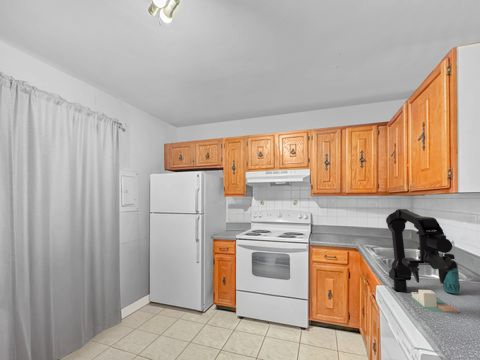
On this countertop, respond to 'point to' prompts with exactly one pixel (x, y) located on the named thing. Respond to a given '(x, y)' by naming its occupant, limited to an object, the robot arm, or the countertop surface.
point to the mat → (433, 309)
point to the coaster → (447, 308)
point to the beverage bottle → (452, 279)
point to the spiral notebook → (415, 295)
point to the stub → (427, 298)
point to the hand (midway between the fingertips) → (429, 282)
